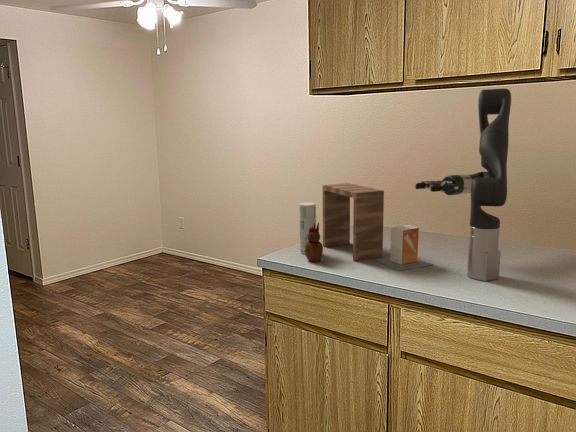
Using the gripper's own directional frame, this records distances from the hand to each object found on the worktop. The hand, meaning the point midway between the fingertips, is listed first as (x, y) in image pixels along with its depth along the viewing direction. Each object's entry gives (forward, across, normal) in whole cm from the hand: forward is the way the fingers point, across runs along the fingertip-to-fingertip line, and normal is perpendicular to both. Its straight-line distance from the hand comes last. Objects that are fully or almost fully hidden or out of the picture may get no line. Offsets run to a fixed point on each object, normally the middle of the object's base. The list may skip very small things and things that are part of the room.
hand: (423, 187), depth 180 cm
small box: (+8, 0, +27) cm, 28 cm away
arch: (+17, -22, +28) cm, 39 cm away
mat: (+8, 0, +28) cm, 29 cm away
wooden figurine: (+36, -18, +28) cm, 49 cm away
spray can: (+33, -29, +28) cm, 52 cm away
